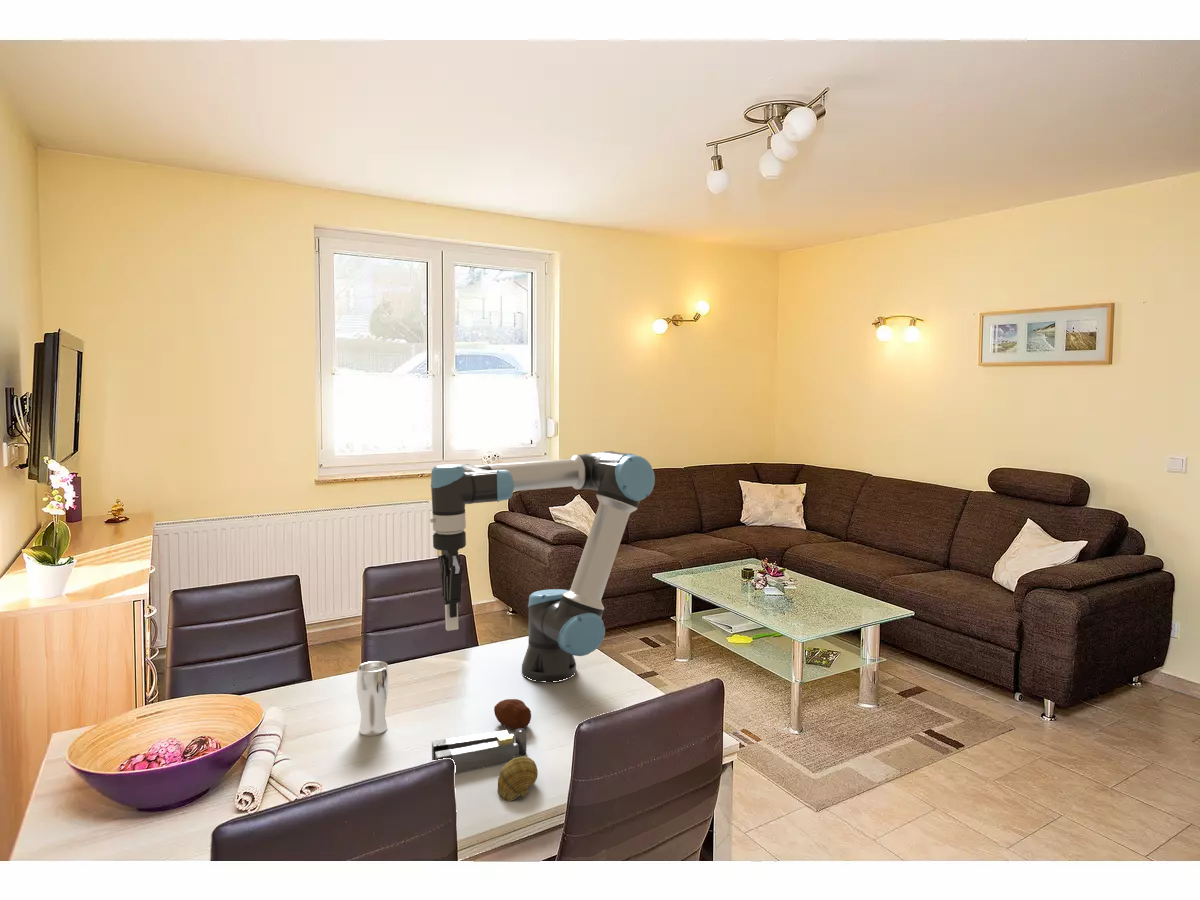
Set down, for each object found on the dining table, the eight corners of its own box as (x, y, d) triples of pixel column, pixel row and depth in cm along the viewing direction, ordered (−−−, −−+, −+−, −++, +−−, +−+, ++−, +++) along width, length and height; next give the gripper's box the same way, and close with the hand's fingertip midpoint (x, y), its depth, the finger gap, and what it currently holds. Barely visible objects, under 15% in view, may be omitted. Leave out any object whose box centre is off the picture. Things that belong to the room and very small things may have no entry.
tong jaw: (512, 746, 157) (512, 729, 156) (515, 751, 154) (515, 734, 154) (431, 759, 151) (431, 741, 150) (433, 765, 148) (433, 746, 148)
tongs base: (524, 749, 156) (524, 727, 156) (530, 758, 152) (530, 735, 152) (433, 767, 148) (433, 744, 148) (437, 777, 144) (437, 753, 144)
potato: (512, 738, 161) (512, 710, 161) (487, 724, 168) (488, 697, 167) (536, 728, 166) (536, 701, 166) (511, 715, 173) (511, 689, 172)
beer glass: (377, 739, 160) (376, 673, 158) (350, 734, 162) (350, 669, 160) (395, 725, 166) (394, 662, 165) (369, 721, 168) (368, 659, 167)
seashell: (520, 820, 137) (547, 790, 137) (492, 803, 135) (519, 773, 134) (515, 784, 146) (541, 756, 146) (489, 768, 144) (515, 740, 144)
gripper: (426, 527, 171) (429, 623, 173) (440, 537, 160) (443, 640, 162) (457, 524, 174) (460, 618, 177) (473, 534, 163) (475, 635, 165)
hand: (452, 629), depth 169 cm, fingers closed
